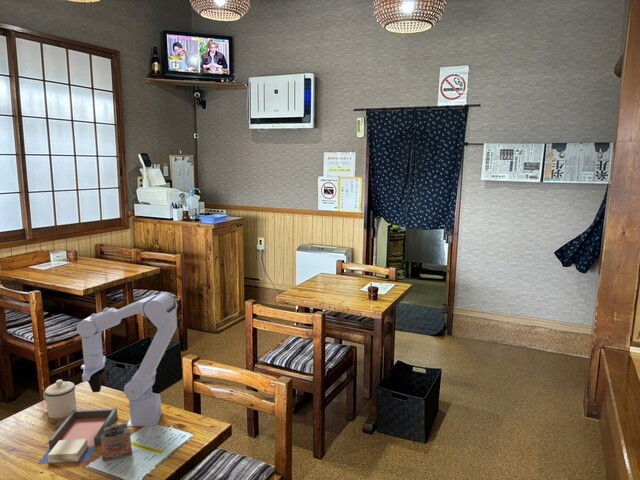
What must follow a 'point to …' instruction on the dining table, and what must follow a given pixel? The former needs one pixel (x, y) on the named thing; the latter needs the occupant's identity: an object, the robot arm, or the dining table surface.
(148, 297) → the robot arm
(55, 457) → the slab
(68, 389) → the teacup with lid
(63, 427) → the grey and pink tray
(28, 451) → the dining table surface
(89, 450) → the indigo mat
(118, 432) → the lighter
